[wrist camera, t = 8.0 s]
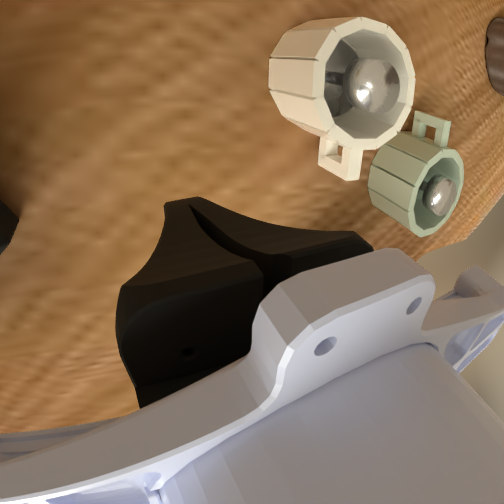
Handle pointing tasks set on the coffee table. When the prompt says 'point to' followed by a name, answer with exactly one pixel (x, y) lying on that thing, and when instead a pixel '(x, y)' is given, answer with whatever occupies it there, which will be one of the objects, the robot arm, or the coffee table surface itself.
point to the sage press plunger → (438, 194)
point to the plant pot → (496, 54)
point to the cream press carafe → (312, 88)
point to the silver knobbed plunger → (359, 82)
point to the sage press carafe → (414, 173)
